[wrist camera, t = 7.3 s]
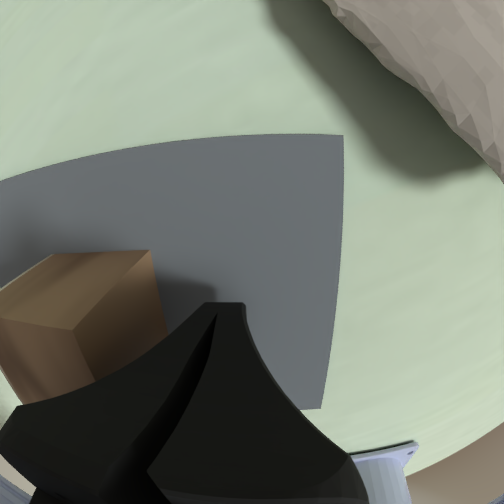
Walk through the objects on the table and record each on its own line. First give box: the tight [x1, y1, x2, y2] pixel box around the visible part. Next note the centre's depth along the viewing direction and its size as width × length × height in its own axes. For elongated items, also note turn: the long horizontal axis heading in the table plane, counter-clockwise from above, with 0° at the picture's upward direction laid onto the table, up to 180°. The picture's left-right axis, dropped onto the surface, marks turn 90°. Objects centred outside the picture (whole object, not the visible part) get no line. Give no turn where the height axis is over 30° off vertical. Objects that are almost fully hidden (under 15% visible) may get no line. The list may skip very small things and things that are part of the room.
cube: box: [0, 250, 168, 405], centre depth 8 cm, size 5×5×5 cm
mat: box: [0, 134, 344, 410], centre depth 11 cm, size 12×17×1 cm
